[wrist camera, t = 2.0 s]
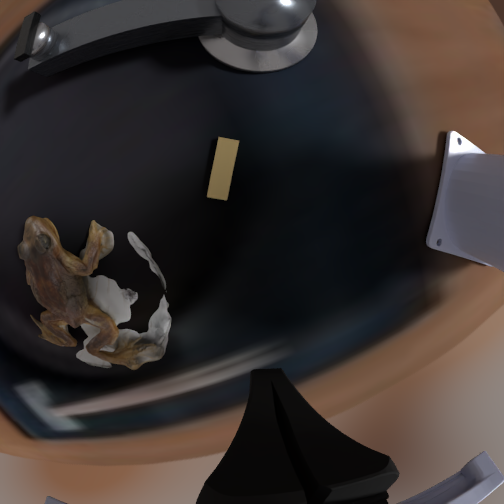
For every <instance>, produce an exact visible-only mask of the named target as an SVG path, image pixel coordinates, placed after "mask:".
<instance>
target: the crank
mask: <svg viewBox="0 0 504 504" xmlns="http://www.w3.org/2000/svg"><path fill="white" fill-rule="evenodd" d="M315 4H316V0H122V1H119V2H116V3H112V4H109V5H106V6H103V7H100V8H97V9H95V10H92V11H89V12H87V13H84V14H82V15H79V16H77V17H74V18H72V19H70V20H67V21H65V22H63V23H61V24H59V25H56V26H54V27H52V28H50V27H48V26H47V25H45V24H44V23H42V22H39V20H40V17H41V15H40V14H38V13H37V12H33V13H31V14H30V15H28V16H26V17H25V18H24V21H23V25H22V28H21V32H20V35H19V39H18V43H17V47H16V52H15V57H14V59H15V60H18V61H20V62H22V61H23V60H25V59H27V58H30V60H29V66H28V70H31V71H33V72H36V73H38V74H41V75H43V76H45V77H49V76H51V75H53V74H56V73H58V72H60V71H63V70H65V69H68V68H70V67H73V66H75V65H78V64H81V63H84V62H86V61H89V60H92V59H95V58H98V57H102V56H105V55H108V54H112V53H115V52H119V51H122V50H126V49H130V48H134V47H139V46H143V45H148V44H152V43H158V42H163V41H169V40H175V39H181V38H189V37H197V36H207V35H219V34H221V35H222V36H223V37H224V38H225V39H227V40H228V41H229V42H231V43H232V44H234V45H236V46H238V47H241V48H244V49H248V50H253V51H271V50H276V49H280V48H282V47H285V46H286V45H288V44H290V43H291V42H292V41H293V40H295V38H296V37H297V36H298V34H299V32H300V31H301V29H302V27H303V26H304V24H305V22H306V21H307V19H308V17H309V16H310V14H311V13H312V11H313V9H314V7H315Z"/></svg>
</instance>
